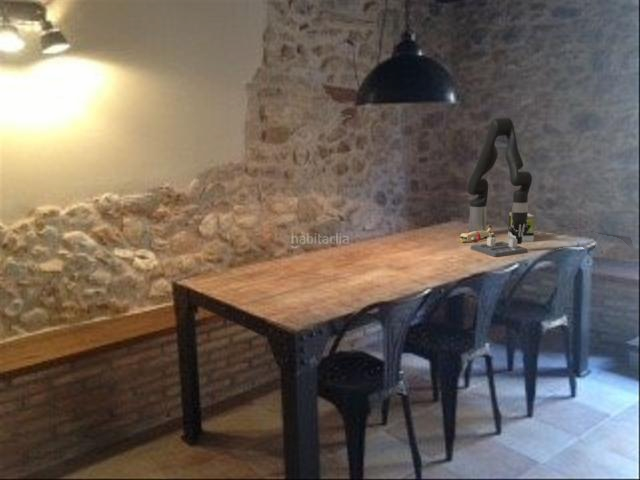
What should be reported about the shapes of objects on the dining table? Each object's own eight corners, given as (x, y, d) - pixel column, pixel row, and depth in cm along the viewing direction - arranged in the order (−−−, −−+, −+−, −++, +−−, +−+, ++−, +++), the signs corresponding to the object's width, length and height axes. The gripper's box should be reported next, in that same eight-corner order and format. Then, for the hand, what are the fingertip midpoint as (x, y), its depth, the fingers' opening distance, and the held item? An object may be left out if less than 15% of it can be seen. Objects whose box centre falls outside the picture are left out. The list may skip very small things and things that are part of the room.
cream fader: (487, 245, 305) (487, 236, 304) (491, 244, 306) (491, 236, 305) (490, 246, 303) (490, 237, 302) (495, 245, 304) (495, 237, 303)
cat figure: (483, 237, 341) (454, 240, 327) (485, 222, 339) (455, 225, 326) (497, 240, 333) (467, 243, 319) (498, 225, 331) (468, 227, 318)
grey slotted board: (470, 249, 308) (470, 244, 307) (501, 244, 315) (501, 240, 314) (495, 257, 289) (495, 252, 289) (527, 252, 296) (527, 247, 296)
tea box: (534, 241, 319) (535, 215, 316) (515, 242, 319) (516, 216, 316) (525, 236, 334) (526, 210, 330) (507, 236, 334) (508, 211, 331)
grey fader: (508, 246, 301) (508, 237, 300) (513, 245, 302) (513, 237, 301) (512, 247, 298) (512, 238, 297) (517, 246, 299) (517, 238, 298)
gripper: (525, 208, 303) (523, 240, 307) (504, 211, 298) (503, 243, 302) (535, 210, 296) (533, 243, 300) (514, 213, 291) (513, 246, 295)
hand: (518, 243), depth 301 cm, fingers closed
